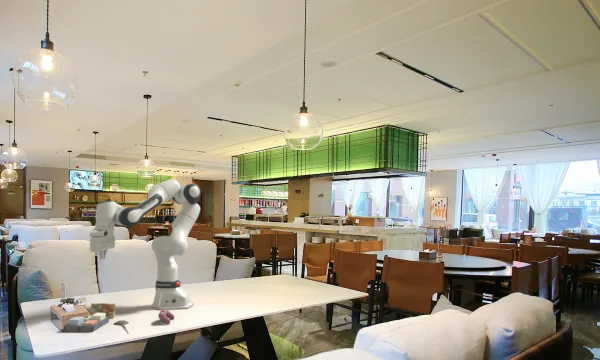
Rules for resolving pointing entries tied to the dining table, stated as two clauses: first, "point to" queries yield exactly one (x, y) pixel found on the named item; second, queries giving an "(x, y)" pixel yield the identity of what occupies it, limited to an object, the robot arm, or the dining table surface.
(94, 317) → the key cream
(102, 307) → the stand
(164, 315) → the pink neck pillow
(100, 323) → the keypad
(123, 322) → the soupspoon
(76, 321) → the key blue
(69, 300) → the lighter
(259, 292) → the dining table surface
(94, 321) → the key terracotta
